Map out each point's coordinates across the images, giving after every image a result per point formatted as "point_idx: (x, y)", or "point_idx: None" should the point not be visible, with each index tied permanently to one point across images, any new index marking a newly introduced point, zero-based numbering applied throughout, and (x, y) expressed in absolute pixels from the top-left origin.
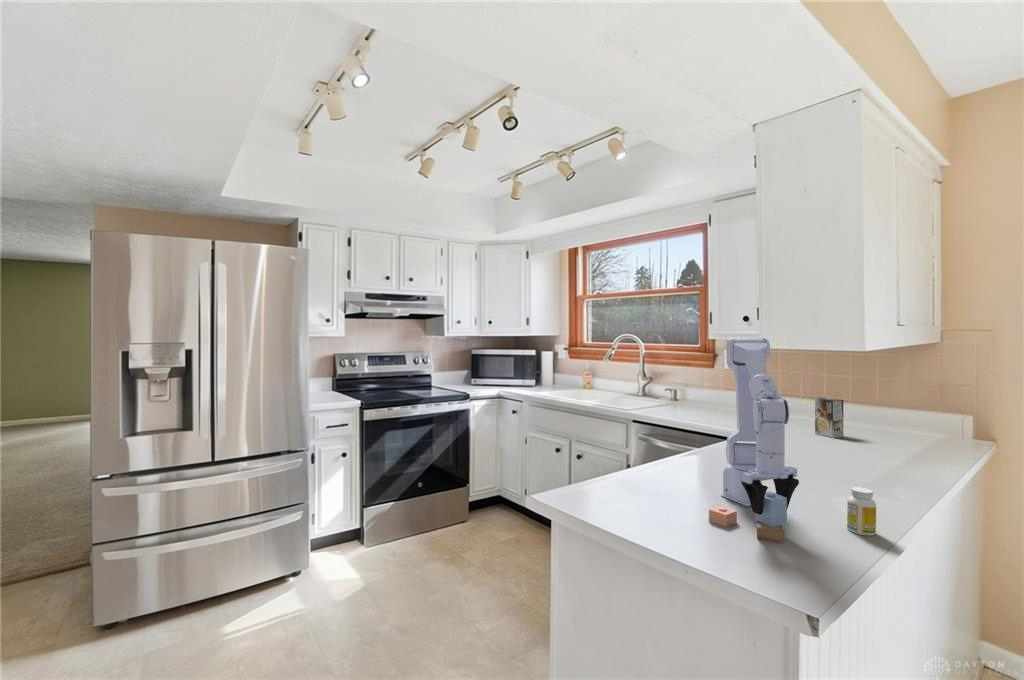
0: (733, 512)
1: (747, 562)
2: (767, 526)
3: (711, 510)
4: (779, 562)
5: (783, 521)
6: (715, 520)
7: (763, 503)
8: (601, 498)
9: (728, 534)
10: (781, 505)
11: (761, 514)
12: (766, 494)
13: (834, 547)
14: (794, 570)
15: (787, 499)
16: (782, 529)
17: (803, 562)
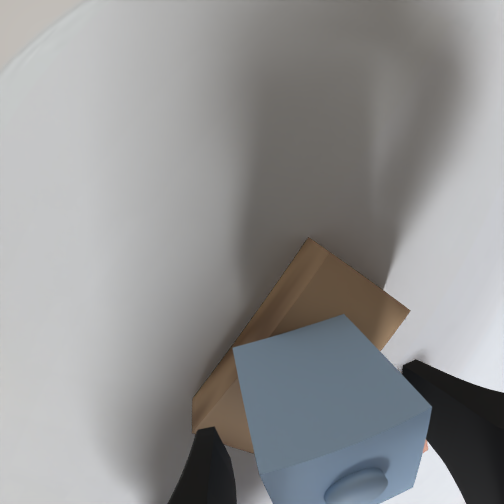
0: None
1: (499, 124)
2: (357, 323)
3: (426, 444)
4: (427, 85)
5: (261, 350)
6: None
7: (448, 394)
8: None
9: (438, 332)
10: (307, 414)
11: (407, 363)
12: (380, 489)
13: (85, 168)
14: (410, 26)
15: (210, 477)
16: (309, 282)
17: (345, 54)
